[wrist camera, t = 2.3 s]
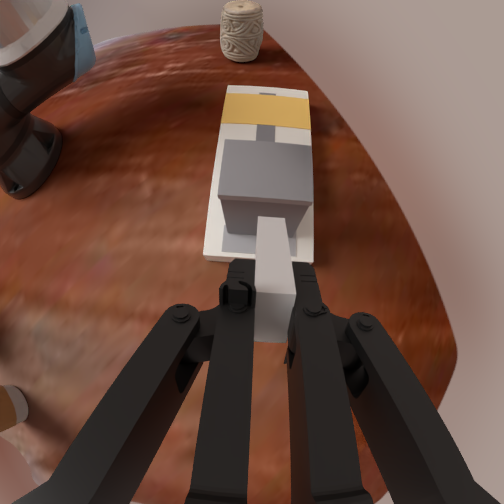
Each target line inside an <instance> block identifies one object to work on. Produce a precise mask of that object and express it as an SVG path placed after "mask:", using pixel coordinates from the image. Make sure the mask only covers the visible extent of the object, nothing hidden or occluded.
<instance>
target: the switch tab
mask: <svg viewBox="0 0 504 504" xmlns="http://www.w3.org/2000/svg"><path fill="white" fill-rule="evenodd" d="M217 195H218V199H220V201H221V206H222V210H223V215H224V219H225V224H226V228H227V232H228V233H232V234H248V235H257V223H258V216H262V217H276V218H285V223H286V229H287V235H288V237H291V238H292V237H293V235H294V233H295V231H296V230H297V228H298V226H299V224H300V222H301V220H302V219H303V217H304V215H305V213H306V211H307V209H308V207H309V206H312V204H313V202H314V200H313V165H312V146H308V145H300V144H290V143H280V142H268V141H253V140H233V139H225V142H224V149H223V156H222V163H221V171H220V178H219V186H218V194H217Z"/></svg>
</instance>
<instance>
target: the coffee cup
mask: <svg viewBox="0 0 504 504" xmlns="http://www.w3.org/2000/svg"><path fill="white" fill-rule="evenodd" d="M27 416H28V405H27V402H26V400H25V398H24V396H23V394H22V393H21V391H20V390H19V389H17V388H16V387H14V386H12V385H6V386H1V385H0V432H2V431H4V430H6V429H9V428H11V427H13V426H15V425H16V424H18V423H20V422H22V421H24V420H26V418H27Z"/></svg>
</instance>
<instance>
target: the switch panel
mask: <svg viewBox="0 0 504 504" xmlns="http://www.w3.org/2000/svg"><path fill="white" fill-rule="evenodd" d="M225 139H233V140H253V141H268V142H280V143H290V144H300V145H308V146H311V124H310V110H309V99H308V91H301V90H293V89H284V88H272V87H258V86H235V85H228V87H227V93H226V97H225V102H224V108H223V114H222V119H221V126H220V132H219V139H218V145H217V151H216V158H215V164H214V171H213V178H212V185H211V193H210V200H209V208H208V216H207V224H206V233H205V242H204V251H203V256H204V257H205V258H206V260H207V261H221V262H232V261H233V260H234V259H235V258H238V259H253V260H255V251H256V237H257V235H248V234H232V233H228V232H227V228H226V224H225V219H224V215H223V210H222V206H221V201H220V199H218V195H217V194H218V186H219V178H220V171H221V163H222V156H223V149H224V142H225ZM288 241H289V248H290V254H291V261H296V262H308V263H309V264H310V265H311V264H312V263H313V250H314V210H313V204H312V206H309V207H308V209H307V211H306V213H305V215H304V217H303V219H302V220H301V222H300V224H299V226H298V228H297V230H296V231H295V233H294V235H293V237H292V238H291V237H288Z"/></svg>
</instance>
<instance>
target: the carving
mask: <svg viewBox="0 0 504 504" xmlns="http://www.w3.org/2000/svg"><path fill="white" fill-rule="evenodd" d="M262 12H263V11H262V7H261V6H260V5H259V4H257V3H255V2H252V1H247V0H239V1H232V2H229V3H227V4H226V5H225V6H224V7H223V10H222V14H221V15H222V17H221V22H220V25H221V29H220V43H221V49H222V52H223V54H224V55H225V56H226V57H227V58H228V59H230V60H233V61H236V62H248V61H252V60H254V59H255V58H256V57H257V55H258V51H259V48H260V45H261V43H262V38H263V35H262V34H263V19H261V18H262V17H263V14H262Z"/></svg>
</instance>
